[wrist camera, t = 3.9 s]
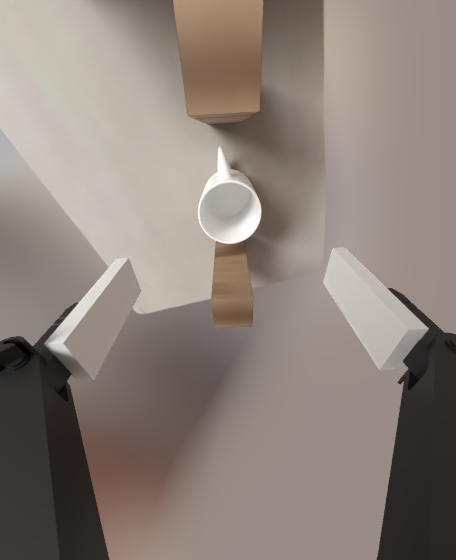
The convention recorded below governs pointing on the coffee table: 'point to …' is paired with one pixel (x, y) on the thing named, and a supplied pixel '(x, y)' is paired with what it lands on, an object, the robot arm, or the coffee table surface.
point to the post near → (220, 57)
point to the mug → (229, 205)
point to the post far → (231, 287)
